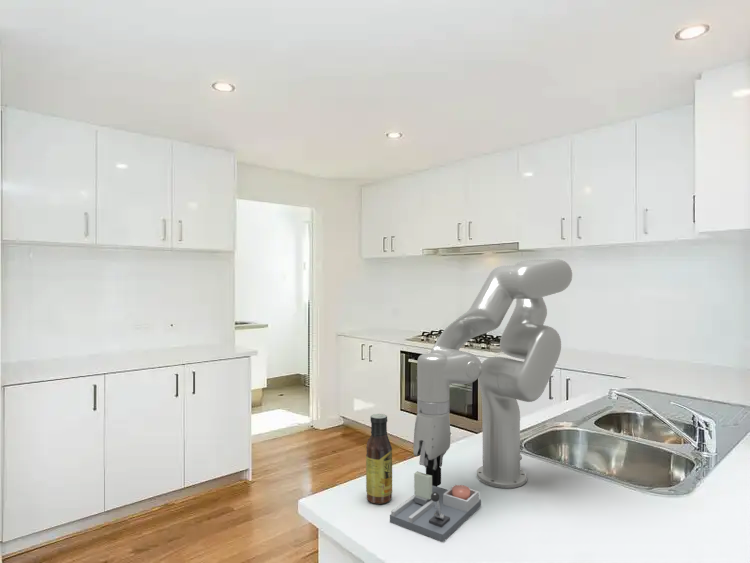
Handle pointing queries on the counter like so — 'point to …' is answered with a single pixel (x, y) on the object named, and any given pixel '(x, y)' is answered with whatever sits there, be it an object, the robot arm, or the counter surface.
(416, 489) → the pale green block
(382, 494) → the sauce bottle
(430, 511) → the panel
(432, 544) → the counter surface
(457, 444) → the counter surface
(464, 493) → the button
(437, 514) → the toggle
